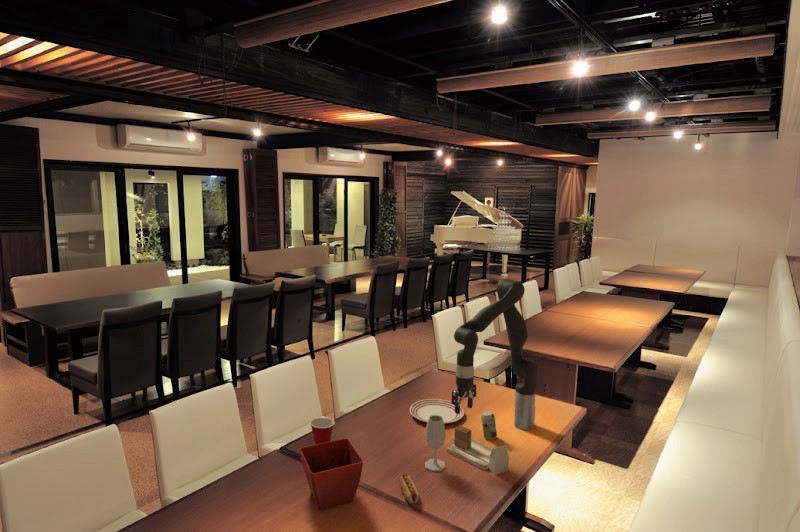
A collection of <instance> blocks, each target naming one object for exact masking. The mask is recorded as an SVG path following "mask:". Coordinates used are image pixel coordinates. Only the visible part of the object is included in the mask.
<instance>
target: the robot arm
mask: <svg viewBox="0 0 800 532" xmlns="http://www.w3.org/2000/svg"><path fill="white" fill-rule="evenodd" d="M525 292H526V291H525V285H524V284H523V283H522V282H520V281H517V280H513V279H509V278H502V279H500V280H499V281H498V282H497V286H496V294H497V298H498V300H497V301H495V302H493V303H492V304H489V305H487V306H485V307H483V308H481V309H480V310H479V311H478V312H476V314H475V315H474V316H473V317H472V318H471V319H470V320H468V321H466V322H464V323H463V324H460V326H458V327H457V328H456V329H455V332H454V334H453V339H454V341H455V342H456V343H457V344H460V345H463V349H462V348H461V349H460V350H458V351H457V353H456V354H457V355H456V367H455V369H456V370H455V386H456V387H457V389H456V390H452V391H451V401H450V402H451V404H453V405H455V413H456V414H460V407H461V404H462V402H463V401H464V399H466V398H467V405H466V406H467V408H468V409H472V408H473V404H474V399H475V398H477V384H476V383H474V382H475V381H474V378H475V375H474V374H475V369H474V367H475V366H474V363H475V362H474V359H475V357H474V356H475V353H476V350H477V346H478V342H479V336H478V334H477V333H482V332H484V331H485V330H486V329H487V328H488V327H489V326H490V325H491V324H492V323H493V322H494V321H495V320H496V319H497V318H498V317H499V316H500V315H502V314H503V318H504V324H505V329H506V335H507V338H508V343H509V349H510V357H511V366H512V372H513V374H514V375H515V376H516V377H519V378H523V379H524V382H519V383H517V384H516V385H515V394H514V396H515V398H514V399H515V400H514V401H515V402H514V423H513V425H514V426H515V427H516V428H517V429H519V430H525V431H527V430H528V431H529V430H532V429H534V427H535V420H536V389H537V386H538V378H539V365H538V362H537V361H535V360H531V359H528V358H526V357H524V353H523V347H524V346H525V344H526V343H527V340H528V337H529V332H528V329H527V328H528V327H527V324H526V320H525V319H524V317H523V315H522V314H521V313H520V311H519V309H518V308H517V307H516V305H515V304H517V303H518V302H519V301H520V300H522V299H523V298H524V295H525Z"/></svg>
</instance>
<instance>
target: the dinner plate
mask: <svg viewBox="0 0 800 532" xmlns="http://www.w3.org/2000/svg"><path fill="white" fill-rule="evenodd" d="M409 413H410V414H411V415H412V416H413V417H414V418H415V419H416V420H419V421H421V422H424V423H427V421H428V418H429V417H430V416H432V415H439V416H442V417H443V421H444V425H445V424H451V423H454V422H455V423H456V422H457V421H459V420H460V419H462V418H463V416H464V415H465V411H464V409H463V407H461V406H460V414H456V413H455V405H453V404H451V401H450V400H447V399H439V398H427V399H421V400H418V401H416V402H414V403H412V405H410V407H409Z"/></svg>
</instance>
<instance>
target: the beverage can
mask: <svg viewBox="0 0 800 532" xmlns="http://www.w3.org/2000/svg"><path fill="white" fill-rule="evenodd" d="M480 419H481V425H482V432H483V437H484V438H485V439H486V440H493V439H494V440H495V438H497V436H498V432H497V426H496V425H497V424H496V418H495V414H494V412H493V411H490V410H488V411H483V412H482V413H481V418H480Z"/></svg>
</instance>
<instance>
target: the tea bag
mask: <svg viewBox="0 0 800 532" xmlns="http://www.w3.org/2000/svg"><path fill="white" fill-rule="evenodd" d="M509 457H510V456H509V453H508V448H507V445H506V444H505V445H500V446H498V447H494V448H493V449H492V452H491V454H490V459H489V468H488V470H489V471H490V472H491V473H492V474H493V473H494V474H493V475H498V474H501V472H502V473H505V472H507V471H509V461H510V460H509V459H510V458H509Z"/></svg>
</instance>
